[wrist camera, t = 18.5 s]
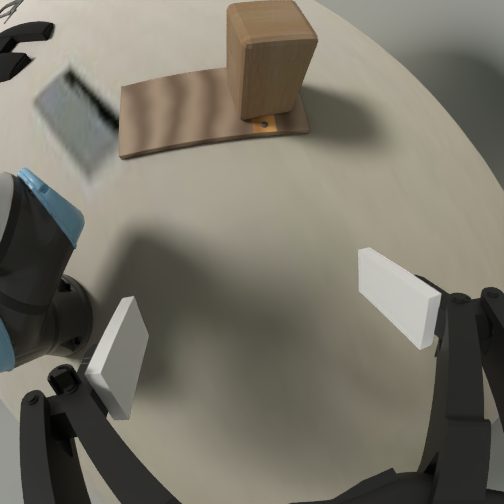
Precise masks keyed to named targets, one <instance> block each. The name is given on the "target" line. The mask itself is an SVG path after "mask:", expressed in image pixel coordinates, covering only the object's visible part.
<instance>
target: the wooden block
mask: <svg viewBox="0 0 504 504" xmlns="http://www.w3.org/2000/svg"><path fill="white" fill-rule="evenodd" d="M317 43H318V37H317V34H316V33H315V31H314V30H313V28H312V27H311V25H310V23H309V22H308V20H307V19H306V17H305V16H304V14H303V13H302V11H301V10H300V8H299V7H298V6H297V4H296V3H295V2H294V1H292V0H267V1H253V2H242V3H234V4H231V5H229V6H228V8H227V84H228V87H229V90H230V93H231V96H232V99H233V102H234V106H235V109H236V112H237V115H238V116H239V118H240V119H242V120H245V119H250V118H255V117H261V116H266V115H272V114H278V113H284V112H289V111H291V110H292V109H293V106H294V103H295V101H296V98H297V95H298V93H299V90H300V87H301V85H302V82H303V80H304V77H305V74H306V72H307V69H308V66H309V64H310V61H311V59H312V56H313V53H314V51H315V48H316V46H317Z"/></svg>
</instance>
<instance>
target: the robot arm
mask: <svg viewBox="0 0 504 504" xmlns="http://www.w3.org/2000/svg"><path fill="white" fill-rule="evenodd" d="M83 227H84V216H83V214H82V213H81V211H80V210H78V209H77V208H76V207H75V206H73V205H72V204H71V203H69V202H68V201H67V200H66V199H64V198H63V197H62V196H60V195H59V194H58V193H57V192H55V191H54V190H53V189H52V188H50V187H49V186H48V185H47V184H45V183H44V182H43V181H42V180H41V179H39V178H38V177H37V176H36V175H35V174H33V173H32V172H31V171H30V170H29V169H27V168H23V169H22V170H21V171H20V172H18V174H17V177H16V176H14V175H12V174H10V173H9V172H2V173H0V373H1V372H5V371H8V372H9V371H11V370H13V369H14V368H16V367H18V366H20V365H23V364H25V363H27V362H30V361H32V360H34V359H36V358H39V357H41V356H43V355H53V356H68V355H71V354H73V353H75V352H77V351H79V350H80V349H82V348H83V347H84V346H85V344H86V343H87V341H88V339H89V337H90V334H91V330H92V311H91V307H90V303H89V300H88V298H87V296H86V294H85V292H84V290H83V289H82V287H81V286H80V285H79V284H78V283H77V282H76V281H75V280H74V279H72V278H71V277H69V276H67V275H65V274H63V272H64V270H65V268H66V266H67V263H68V261H69V259H70V257H71V255H72V252H73V250H74V249H76V246H77V244H76V243H77V241H78V238H79V236H80V234H81V232H82V229H83ZM358 261H359V292H360V293H362V294H363V295H364V296H365V297H366V298H367V299H368V300H369V301H370V302H371V303H372V304H373V305H374V306H375V307H376V308H377V309H378V310H379V311H381V312H382V313H383V314H384V315H385V316H386V317H387V318H388V319H389V320H390V321H391V322H392V323H393V324H394V325H395V326H396V327H397V328H398V329H399V330H400V331H401V332H402V333H403V334H404V335H405V336H406V337H407V338H408V339H409V340H410V341H411V342H412V343H413V344H414V345H415V346H416V347H417V348H418V349H419V350H421V349H424V348H426V347H428V346H430V345H432V342H433V338H434V334H435V335H436V336H437V337H438V338H439V340H438V345H437V349H436V353H435V357H437V363H436V376H435V386H434V394H433V402H432V409H431V415H430V421H429V427H428V433H427V438H426V442H425V447H424V452H423V456H422V460H421V463H420V465H419V468H418V470H417V472H404V473H398V474H396V473H395V471H394V469H393V468H391V469H389V470H386V471H384V472H382V473H380V474H377V475H375V476H373V477H370V478H368V479H365V480H363V481H361V482H360V483H358V484H357V485H355V486H354V487H352V488H351V489H349V490H347V491H346V492H344V493H342V494H341V495H339V496H337V497H336V498H334V499H331V500H326V501H314V502H298V503H290V504H504V492H502V491H496V490H491V489H486V486H487V479H488V470H489V460H490V444H491V422H490V420H489V419H484V392H483V375H482V366H483V369H484V372H485V374H486V377H487V380H488V382H489V385H490V388H491V391H492V394H493V397H494V400H495V403H496V407H497V410H498V413H499V417H500V420H501V423H502V428H503V431H504V293H503V292H502V291H501V290H499V289H497V288H494V287H487V288H484V289H483V290H482V292H481V297H480V298H478V299H472V300H471V298H470V297H469V296H468V295H466V294H463V293H452V294H448V293H447V292H445V291H444V290H442V289H441V288H439V287H438V286H436V285H435V284H433V283H432V282H430V281H429V280H427V279H426V278H424V277H421V276H418V275H413V274H411V273H409V272H408V271H406V270H405V269H403V268H402V267H400V266H399V265H397V264H395V263H394V262H392V261H391V260H389V259H387V258H386V257H384V256H383V255H381V254H379V253H378V252H376V251H374V250H373V249H371V248H369V247H368V248H364V249H359V250H358ZM148 338H149V334H148V332H147V329H146V327H145V324H144V322H143V319H142V316H141V314H140V311H139V308H138V305H137V302H136V300H135V297H134V296H131V297H125V298H122V300H121V301H120V303H119V305H118V307H117V309H116V311H115V313H114V315H113V316H112V318H111V320H110V322H109V324H108V326H107V328H106V330H105V332H104V334H103V336H102V338H101V340H100V342H99V344H94V345H93V346H92V347H91V348H90V349H89V350H88V351H87V353H86V355H85V357H84V359H83V361H82V364H81V365H80V367H79V369H78V371H77V373H76V371H75V370H74V368H73V367H72V366H71V365H69V364H64V365H60V366H58V367H56V368H54V369H53V370H52V371H51V372H50V373H49V375H48V382H49V384H50V385H51V387H52V388H53V390H54V391H55V393H56V394H57V395H54V396H51V397H47V398H46V397H45V395H44V394H43V393H42V392H41V391H40V390H34V391H31V392H29V393H27V394H26V395H25V396H24V398H23V399H22V402H21V412H20V467H21V480H22V490H23V499H24V504H91V501H90V498H89V495H88V492H87V489H86V485H85V482H84V478H83V474H82V471H81V467H80V462H79V458H78V454H77V449H76V444H75V439H74V437H78V438H79V440H80V442H81V443H82V445H83V447H84V449H85V450H86V452H87V454H88V455H89V457H90V459H91V460H92V462H93V464H94V465H95V467H96V468H97V470H98V471H99V473H100V474H101V476H102V477H103V479H104V480H105V482H106V483H107V485H108V486H109V488H110V489H111V490H112V492H113V493H114V494H115V496H116V497H117V498H118V500H119V501H120V502H121V504H182V503H181V502H179V501H178V500H177V499H176V498H175V497H174V496H173V495H172V494H171V493H170V492H169V491H168V490H167V489H166V488H165V487H164V486H163V485H162V484H161V483H160V482H159V481H158V480H157V479H156V478H155V477H154V476H153V475H152V474H151V473H150V472H149V470H148V469H147V468H146V467H145V466H144V465H143V464H142V463H141V462H140V460H139V459H138V458H137V457H136V456H135V455H134V453H133V452H132V451H131V450H130V449H129V447H128V446H127V445H126V444H125V442H124V441H123V440H122V439H121V437H120V436H119V435H118V434H117V432H116V431H115V430H114V428H113V427H112V426H111V424H110V423H109V422H108V420H107V419H106V417H107V413H108V412H109V414H110V415H111V416H112V418H113V419H114V420H129V418H130V413H131V408H132V404H133V399H134V395H135V390H136V386H137V382H138V378H139V373H140V369H141V365H142V361H143V357H144V354H145V350H146V346H147V342H148Z"/></svg>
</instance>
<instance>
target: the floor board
mask: <svg viewBox="0 0 504 504" xmlns="http://www.w3.org/2000/svg"><path fill="white" fill-rule="evenodd" d="M309 130H310V128H309V124H308V120H307V116H306V113H305V109H304V105H303V102H302V98H301V95H300V91H299V93H298V95H297V98H296V101H295V103H294V106H293V109H292V110H291V111H289V112H284V113H278V114H272V115H266V116H261V117H255V118H250V119H245V120H242V119H240V118H239V116H238V115H237V112H236V109H235V106H234V102H233V99H232V96H231V93H230V90H229V87H228V84H227V68H218V69H210V70H202V71H196V72H189V73H183V74H177V75H172V76H167V77H162V78H157V79H152V80H148V81H144V82H139V83H135V84H131V85H128V86H124V87H122V88H121V101H120V119H119V157H120V158H121V159H125V158H130V157H134V156H139V155H143V154H148V153H153V152H158V151H163V150H168V149H174V148H179V147H185V146H191V145H197V144H204V143H211V142H218V141H225V140H233V139H242V138H251V137H261V136H272V135H285V134H302V133H308V132H309Z"/></svg>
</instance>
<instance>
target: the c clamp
mask: <svg viewBox="0 0 504 504" xmlns="http://www.w3.org/2000/svg"><path fill="white" fill-rule="evenodd" d="M22 1H23V0H15V1H13V2H11V3H9V4H7V5H5V6H4V7H3V8H2V9H1V10H0V13H1V12H2V11H3V10H4V9H5V8H7V7H9V6H12V5H14V4H15V5H14V6H13V7H12V9H11V10H10V11H8V12H7V13H5V14H3V15H0V18H2V17H4V16H6V15H10V16H11V15H12V14H13V13H14V12H15V11H16V8H17V7H18V6H19V5H20V4H21V3H22ZM10 16H9V17H8V18H7V20H8V19H9V18H10ZM7 20H6V21H7ZM6 21H5V22H4V24H5V23H6Z"/></svg>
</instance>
